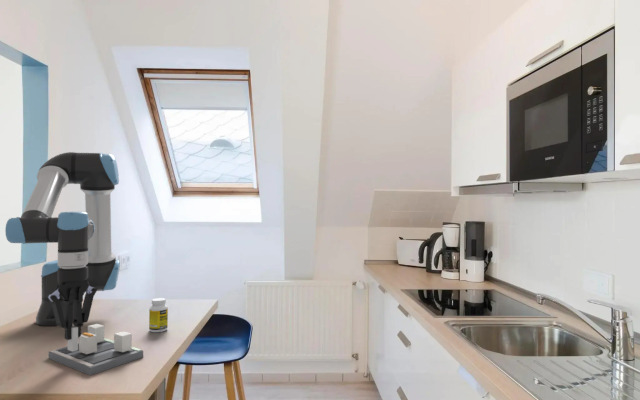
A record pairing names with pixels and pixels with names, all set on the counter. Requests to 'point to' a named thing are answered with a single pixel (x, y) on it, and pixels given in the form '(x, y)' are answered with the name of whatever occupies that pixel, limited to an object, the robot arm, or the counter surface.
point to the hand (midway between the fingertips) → (72, 349)
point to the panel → (95, 357)
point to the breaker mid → (88, 343)
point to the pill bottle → (158, 315)
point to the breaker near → (122, 341)
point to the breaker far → (97, 331)
